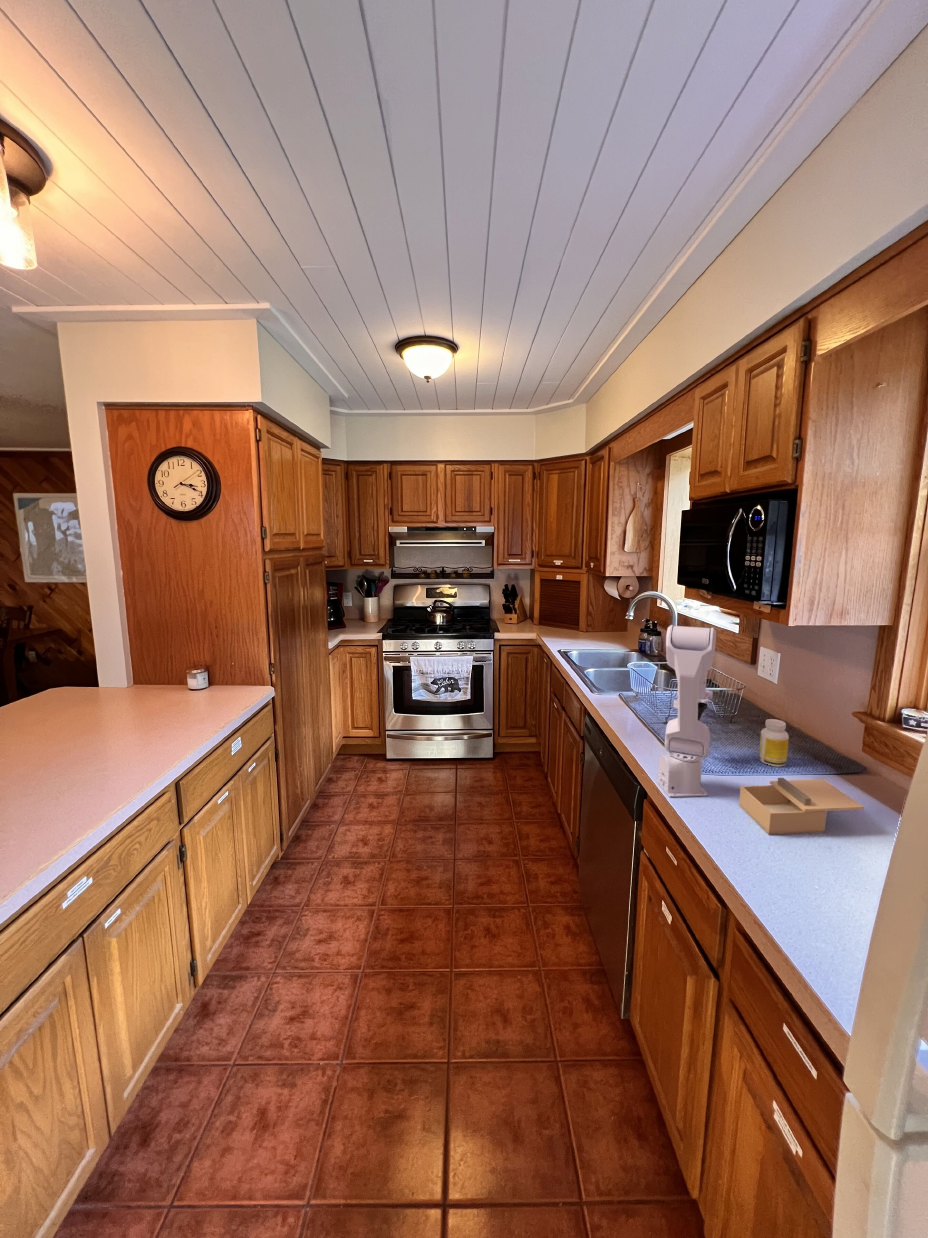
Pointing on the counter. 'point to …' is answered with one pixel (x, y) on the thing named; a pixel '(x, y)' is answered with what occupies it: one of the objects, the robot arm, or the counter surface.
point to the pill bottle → (774, 743)
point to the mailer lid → (815, 795)
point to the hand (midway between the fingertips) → (691, 727)
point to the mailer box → (779, 812)
